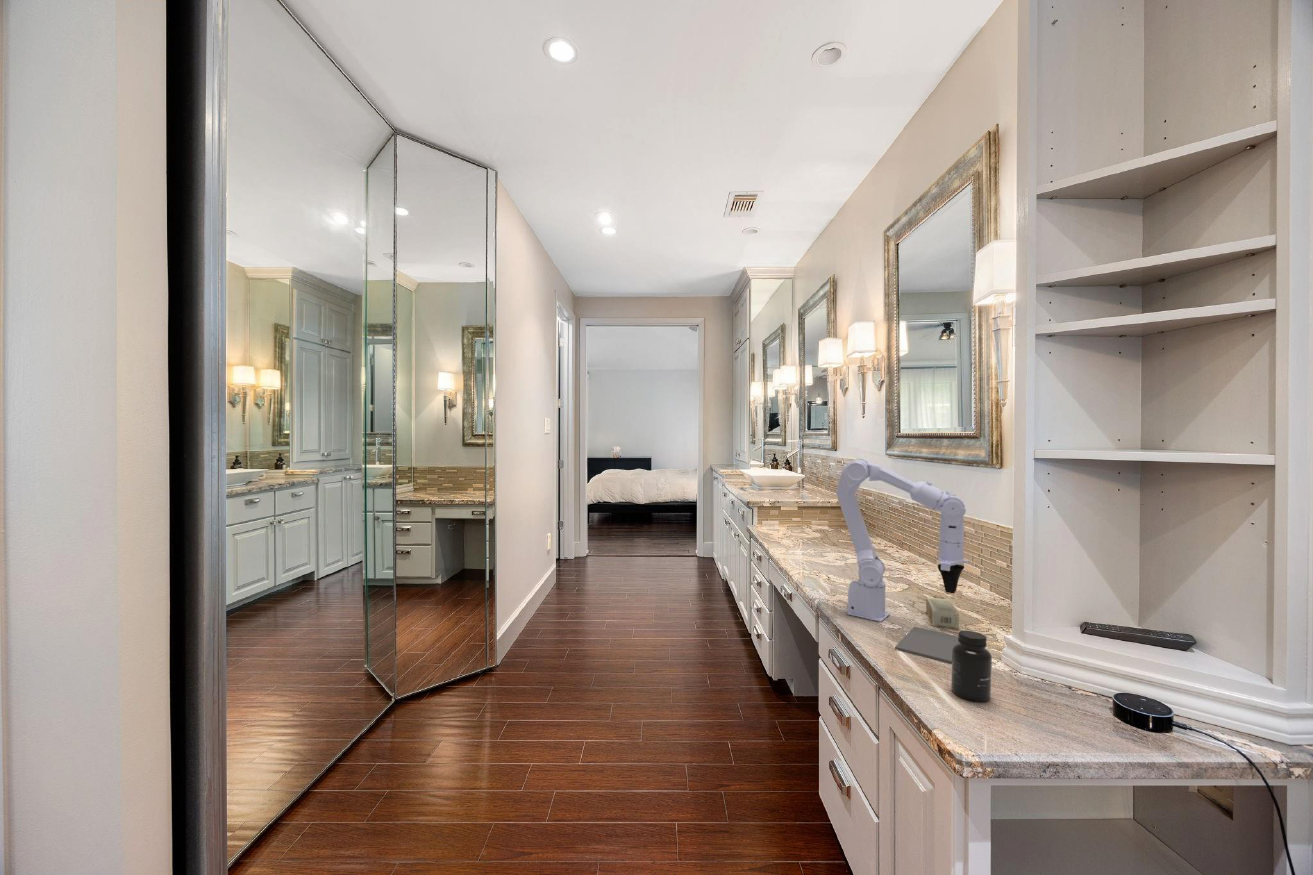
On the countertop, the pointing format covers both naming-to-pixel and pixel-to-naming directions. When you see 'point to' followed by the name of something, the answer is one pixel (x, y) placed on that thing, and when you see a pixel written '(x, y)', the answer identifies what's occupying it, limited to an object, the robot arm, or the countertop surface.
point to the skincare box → (942, 613)
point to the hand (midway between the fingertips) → (950, 592)
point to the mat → (929, 644)
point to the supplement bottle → (971, 667)
